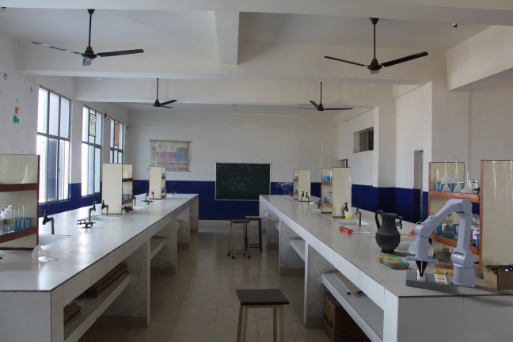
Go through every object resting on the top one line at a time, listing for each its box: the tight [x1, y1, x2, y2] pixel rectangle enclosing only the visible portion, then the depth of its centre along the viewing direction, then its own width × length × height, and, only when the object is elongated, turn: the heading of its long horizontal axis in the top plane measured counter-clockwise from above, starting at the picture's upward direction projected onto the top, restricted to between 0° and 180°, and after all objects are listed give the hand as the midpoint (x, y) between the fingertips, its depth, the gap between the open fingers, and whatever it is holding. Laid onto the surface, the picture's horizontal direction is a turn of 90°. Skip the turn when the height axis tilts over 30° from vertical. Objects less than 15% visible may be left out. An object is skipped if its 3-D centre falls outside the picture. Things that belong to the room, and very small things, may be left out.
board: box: [405, 270, 452, 293], centre depth 182 cm, size 20×20×4 cm
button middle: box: [416, 269, 427, 276], centre depth 183 cm, size 4×4×4 cm
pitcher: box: [374, 209, 401, 255], centre depth 259 cm, size 17×21×30 cm
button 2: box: [417, 275, 426, 282], centre depth 177 cm, size 4×4×4 cm
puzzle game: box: [375, 254, 411, 269], centre depth 220 cm, size 12×5×20 cm
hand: (421, 276), depth 177 cm, fingers closed, pressing on button 2
